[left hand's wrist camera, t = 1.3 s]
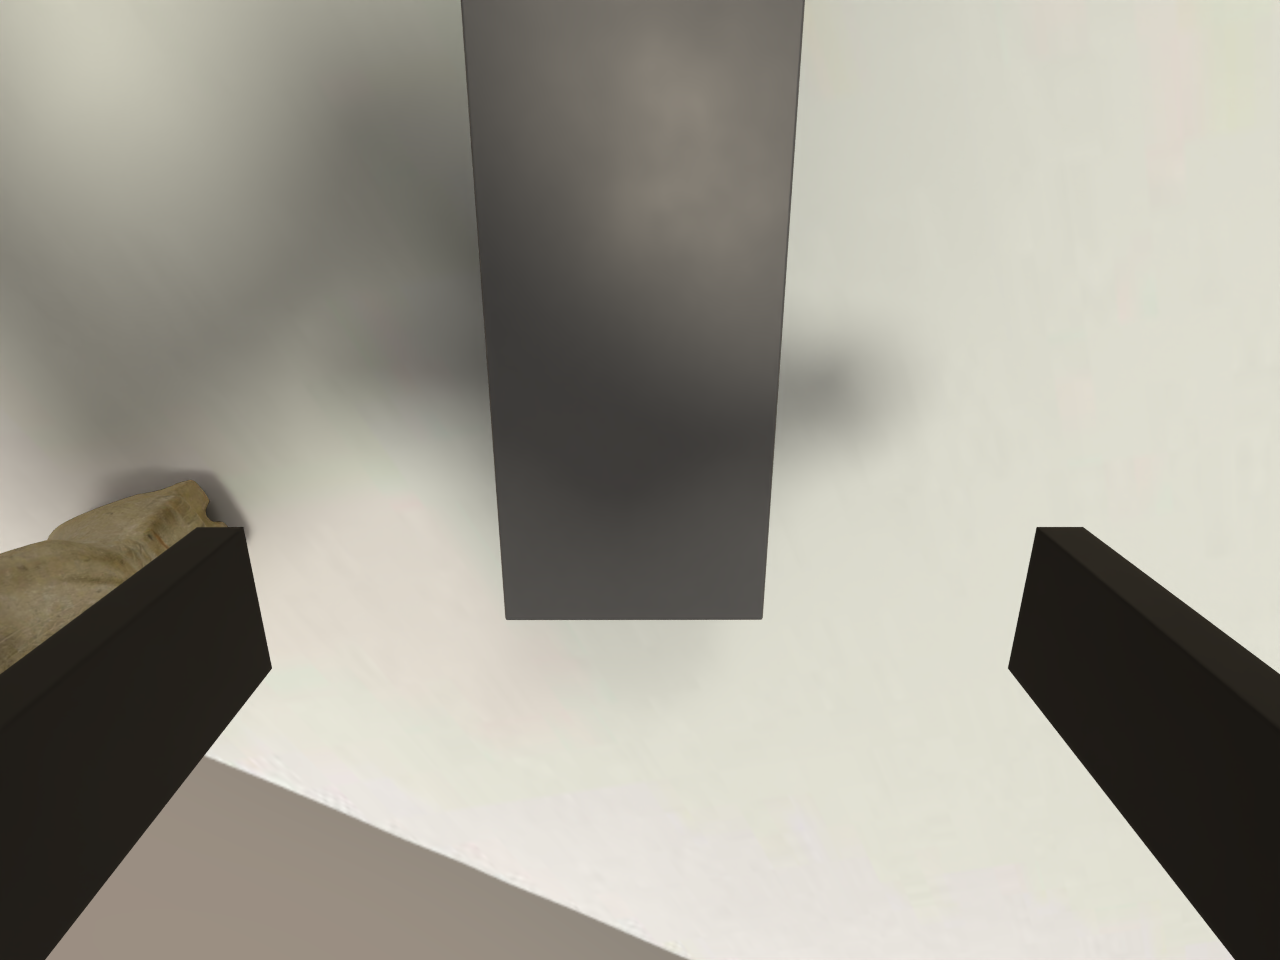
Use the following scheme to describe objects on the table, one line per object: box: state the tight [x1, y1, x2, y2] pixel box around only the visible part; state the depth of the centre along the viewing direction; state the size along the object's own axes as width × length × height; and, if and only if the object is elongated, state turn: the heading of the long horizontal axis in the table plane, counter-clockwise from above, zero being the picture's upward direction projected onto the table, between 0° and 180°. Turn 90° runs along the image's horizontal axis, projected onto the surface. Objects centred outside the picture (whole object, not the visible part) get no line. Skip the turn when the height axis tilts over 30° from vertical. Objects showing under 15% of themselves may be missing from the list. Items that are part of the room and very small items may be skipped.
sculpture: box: [0, 480, 228, 674], centre depth 26 cm, size 6×7×15 cm
